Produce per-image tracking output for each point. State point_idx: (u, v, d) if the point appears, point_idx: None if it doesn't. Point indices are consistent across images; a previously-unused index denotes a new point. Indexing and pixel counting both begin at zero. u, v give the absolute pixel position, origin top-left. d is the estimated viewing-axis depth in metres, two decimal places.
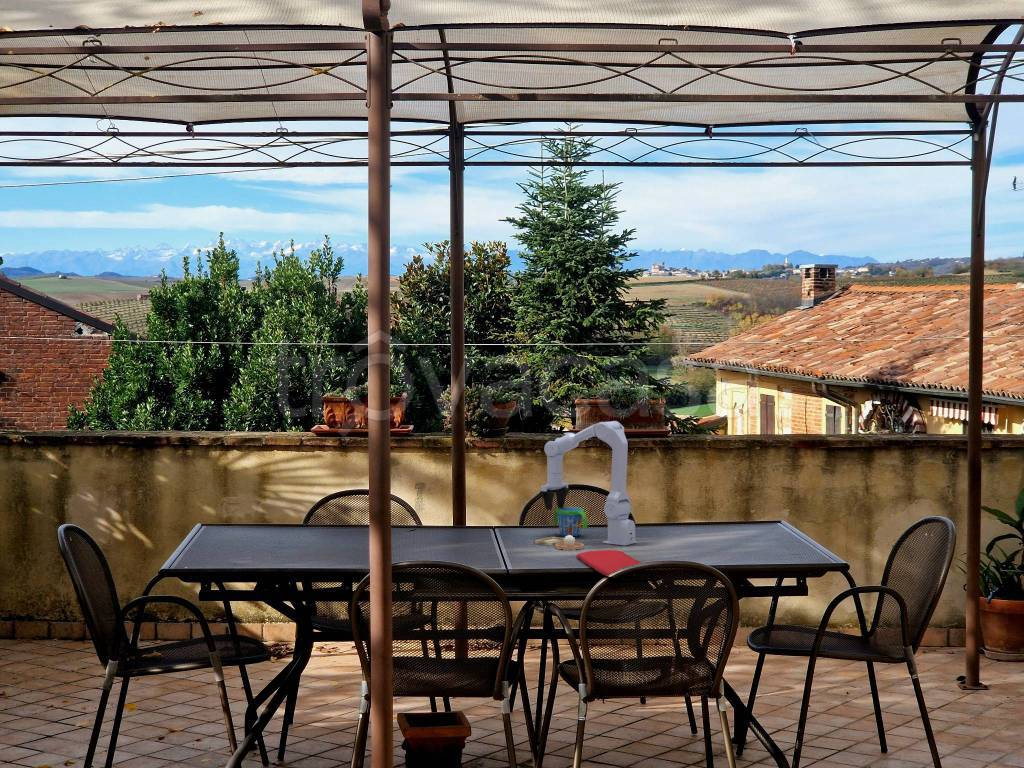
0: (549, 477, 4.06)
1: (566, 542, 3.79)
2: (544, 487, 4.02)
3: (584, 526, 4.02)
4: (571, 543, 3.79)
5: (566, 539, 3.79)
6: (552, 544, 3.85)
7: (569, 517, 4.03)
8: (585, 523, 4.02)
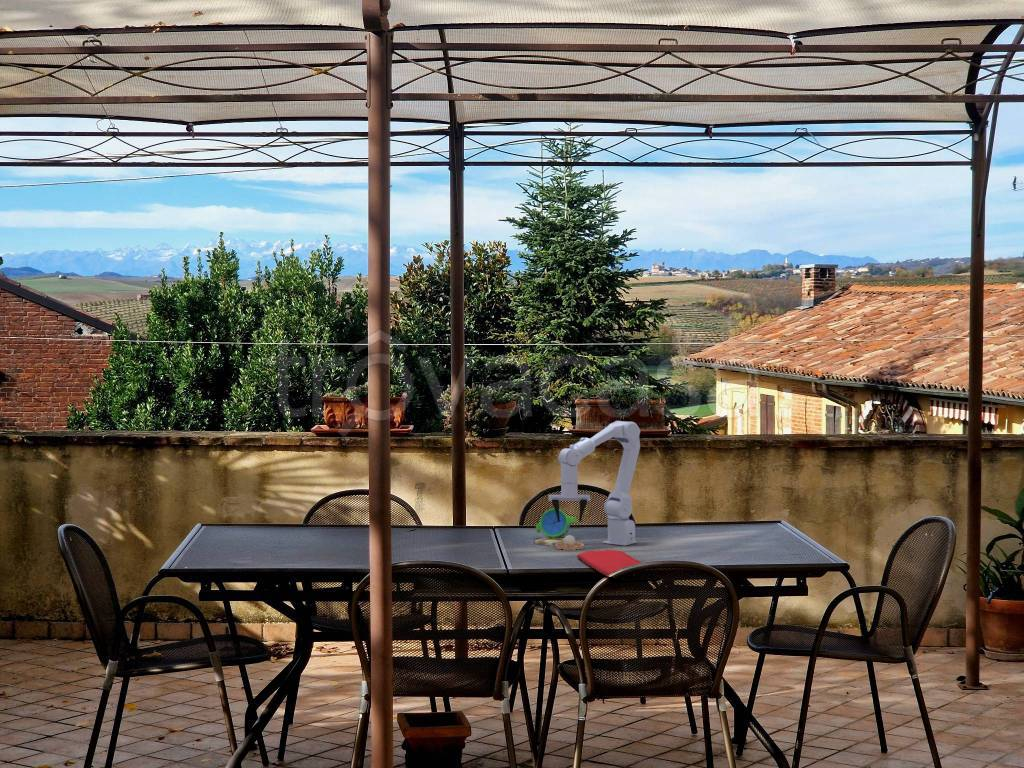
0: (561, 487, 3.81)
1: (566, 542, 3.79)
2: None
3: None
4: (571, 543, 3.79)
5: (566, 539, 3.79)
6: (552, 544, 3.85)
7: (565, 531, 3.97)
8: (576, 520, 3.99)
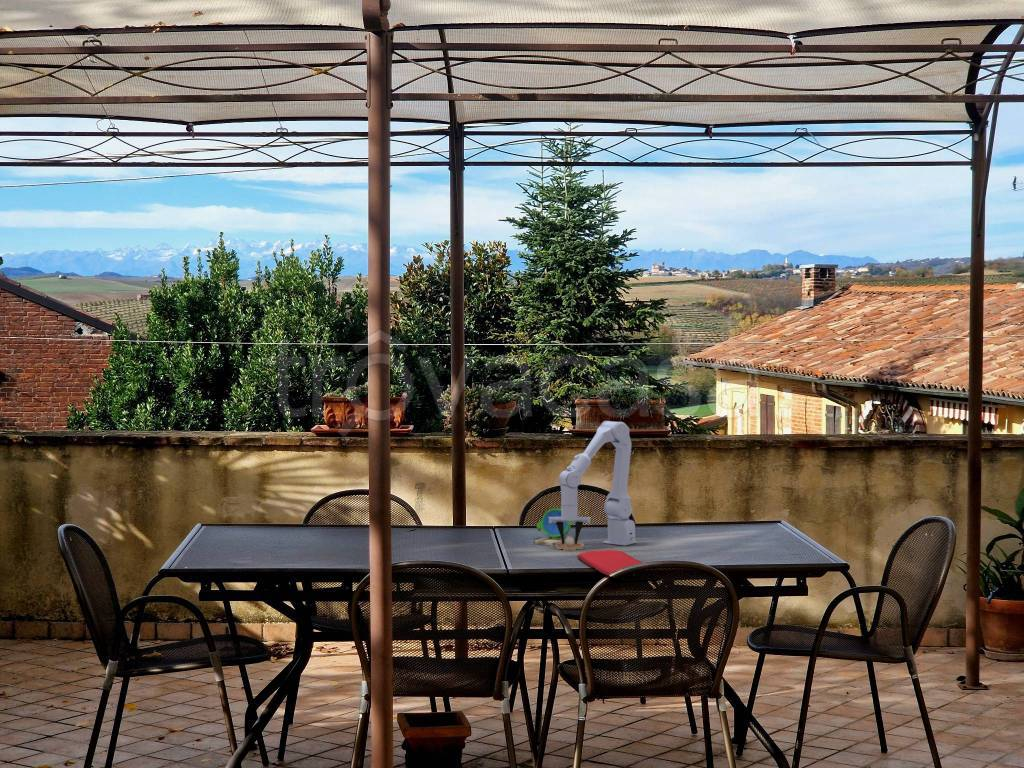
0: (561, 509, 3.81)
1: (566, 542, 3.79)
2: (549, 518, 3.80)
3: None
4: (571, 543, 3.79)
5: (566, 539, 3.79)
6: (552, 544, 3.85)
7: None
8: None
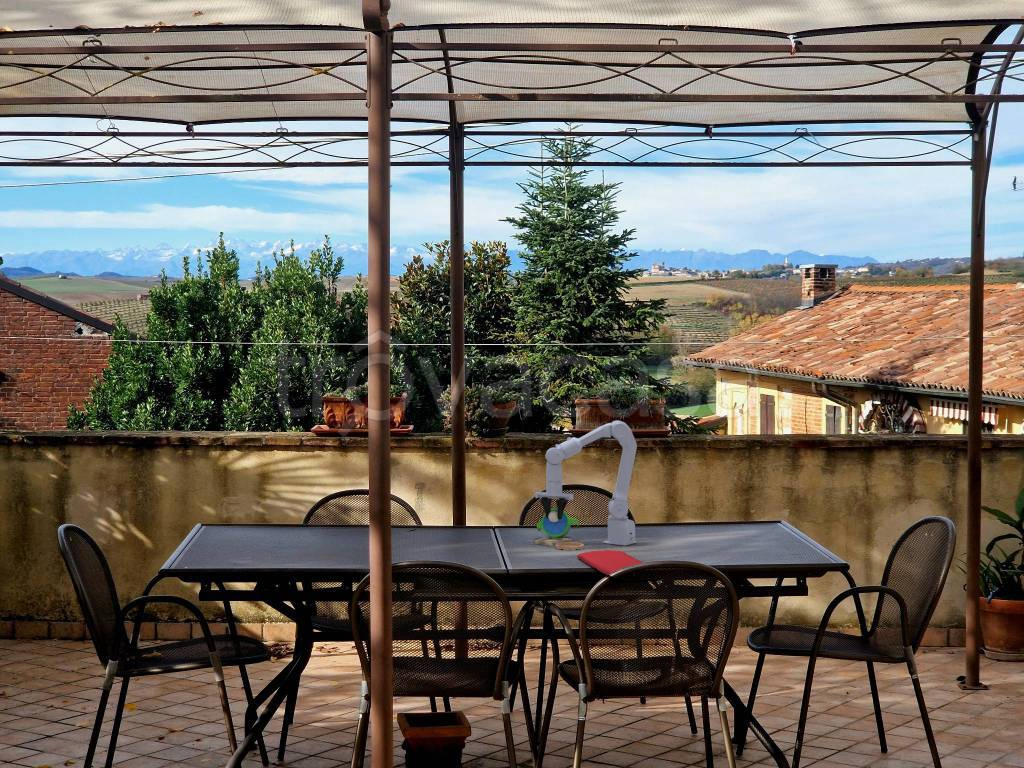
0: None
1: (549, 517, 3.89)
2: None
3: (578, 523, 4.00)
4: (553, 519, 3.88)
5: (549, 514, 3.89)
6: (552, 544, 3.85)
7: None
8: None
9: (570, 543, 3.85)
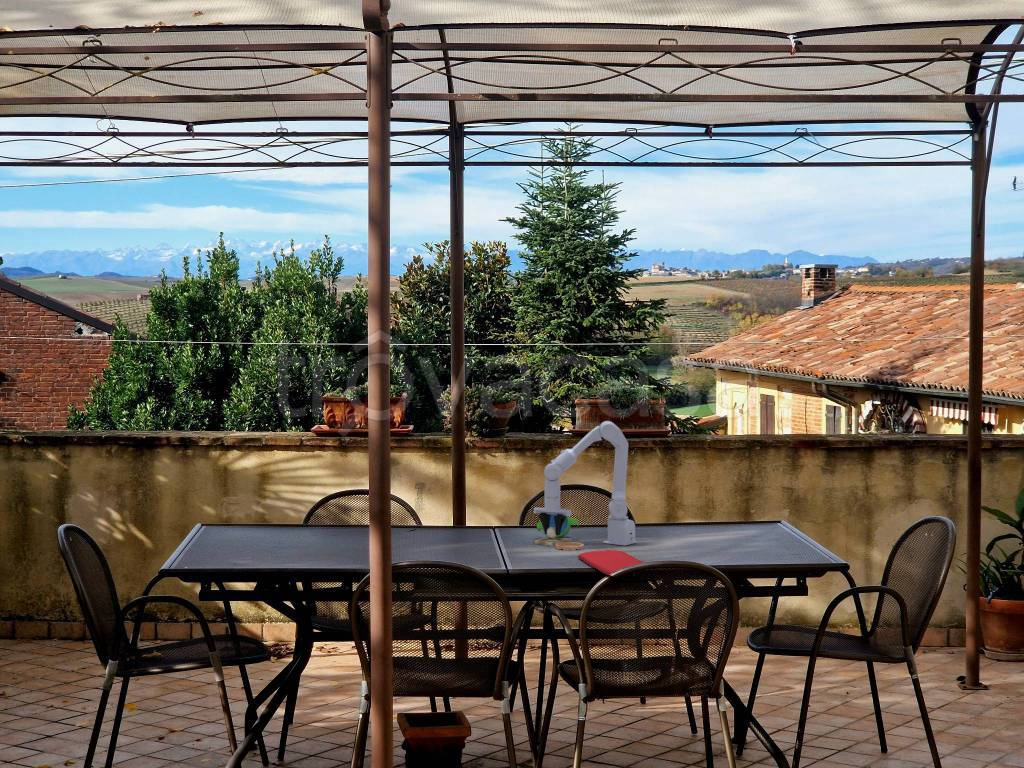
0: None
1: (547, 533, 3.91)
2: None
3: (578, 523, 4.00)
4: (551, 534, 3.90)
5: (547, 530, 3.91)
6: (552, 544, 3.85)
7: None
8: None
9: (570, 543, 3.85)
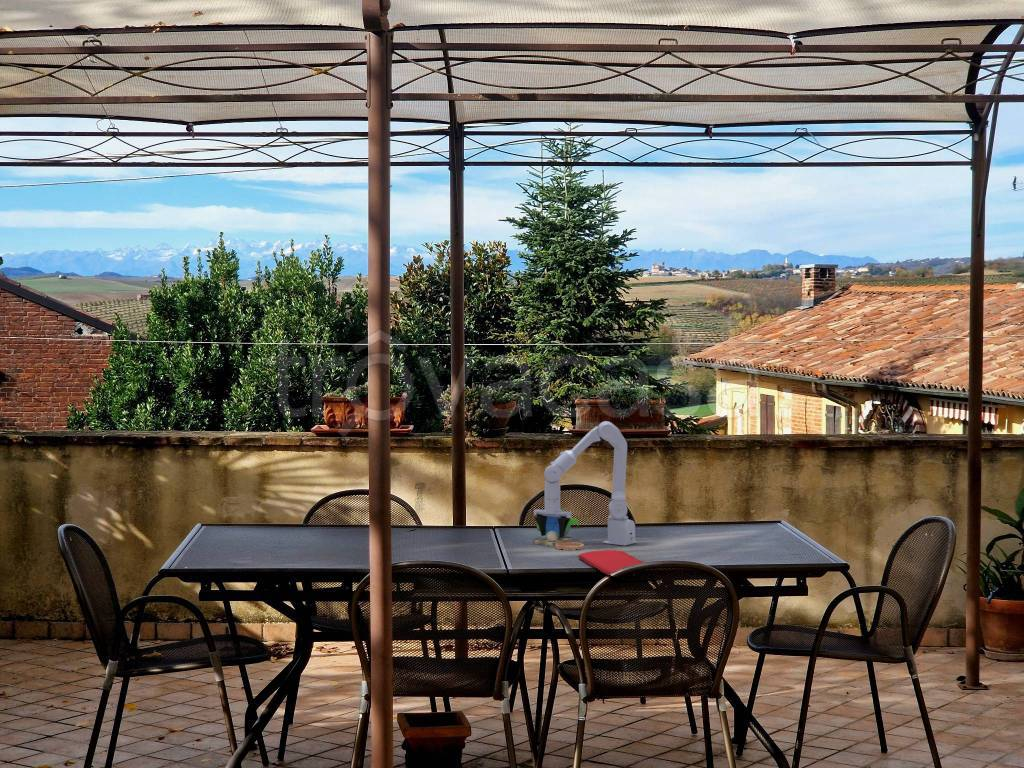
0: None
1: (547, 537, 3.91)
2: None
3: (578, 523, 4.00)
4: (551, 538, 3.90)
5: (547, 534, 3.91)
6: (552, 544, 3.85)
7: None
8: None
9: (570, 543, 3.85)
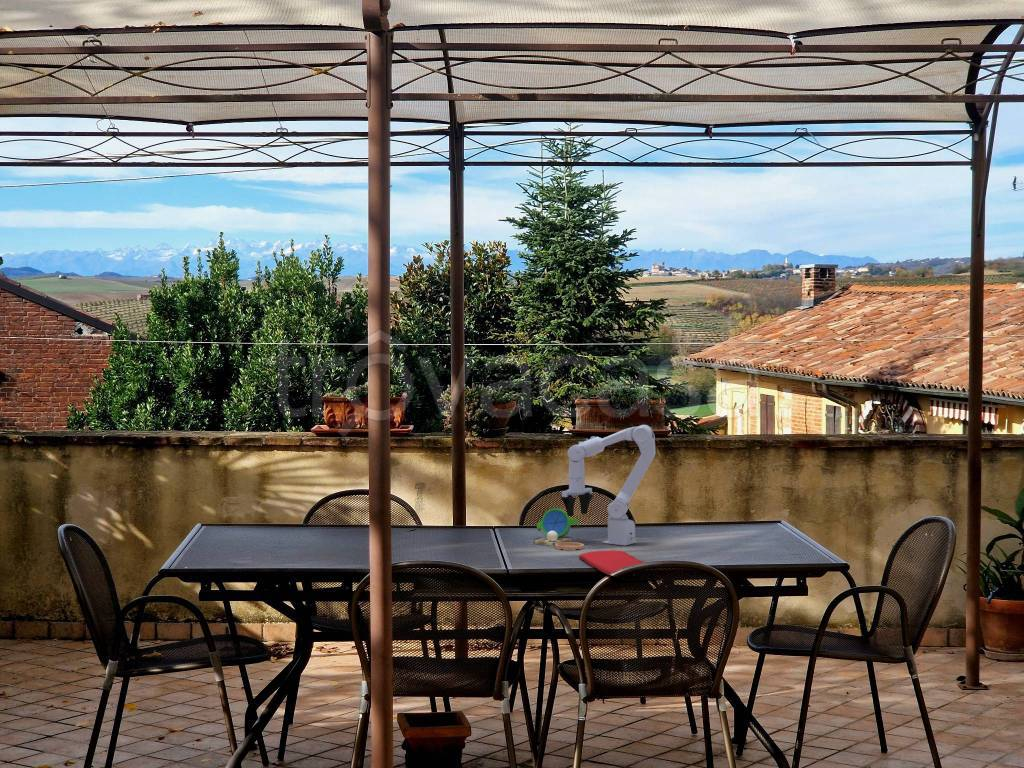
0: (571, 482, 3.92)
1: (547, 537, 3.91)
2: (565, 493, 3.89)
3: (578, 523, 4.00)
4: (551, 538, 3.90)
5: (547, 534, 3.91)
6: (552, 544, 3.85)
7: None
8: None
9: (570, 543, 3.85)
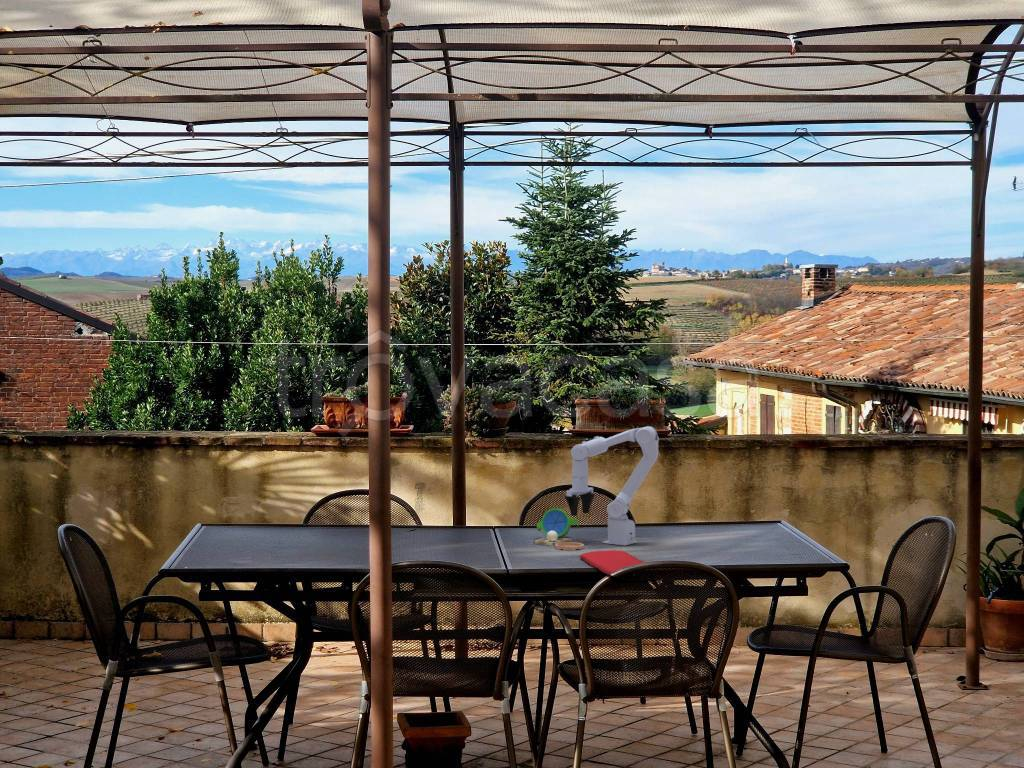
0: (574, 482, 3.93)
1: (547, 537, 3.91)
2: (570, 492, 3.89)
3: (578, 523, 4.00)
4: (551, 538, 3.90)
5: (547, 534, 3.91)
6: (552, 544, 3.85)
7: None
8: None
9: (570, 543, 3.85)
